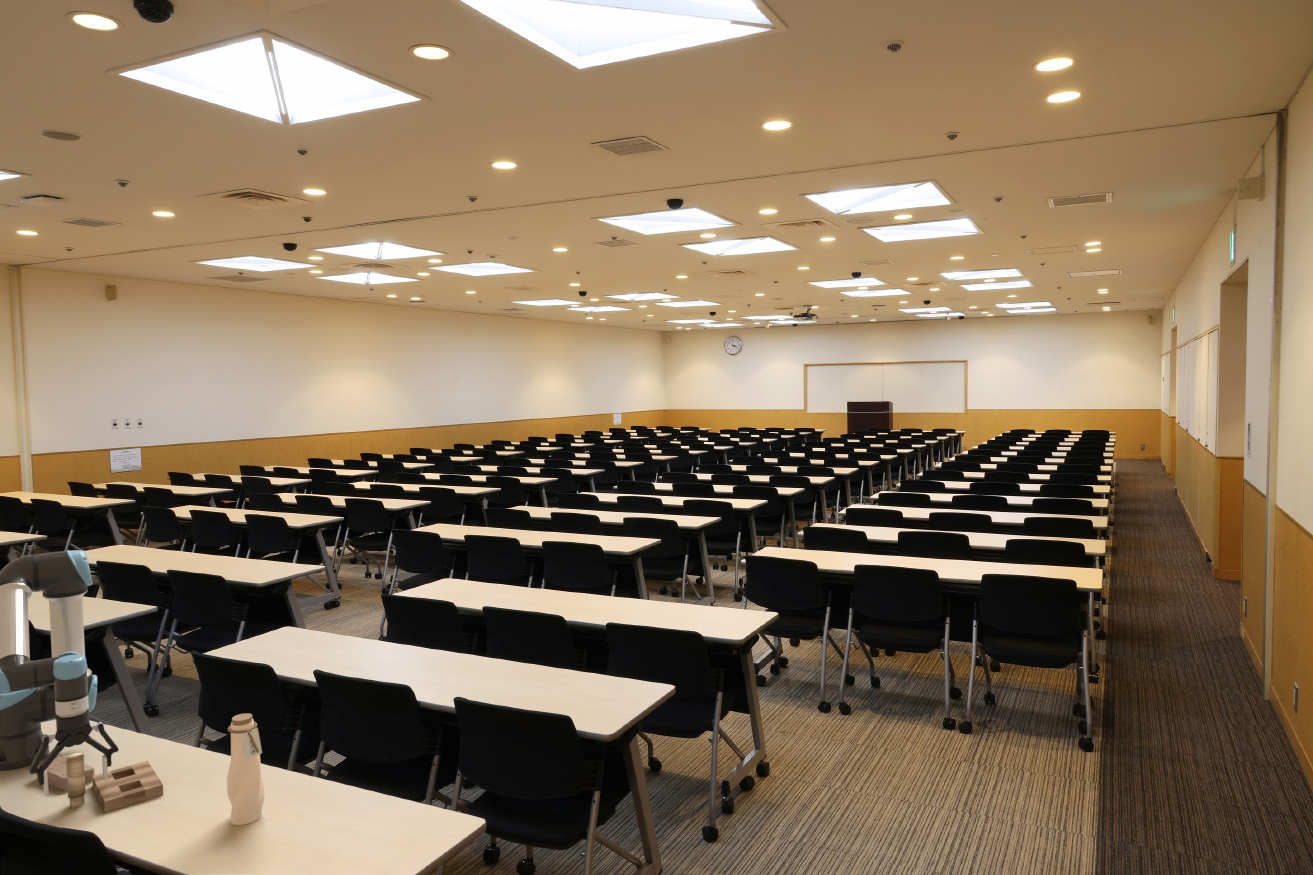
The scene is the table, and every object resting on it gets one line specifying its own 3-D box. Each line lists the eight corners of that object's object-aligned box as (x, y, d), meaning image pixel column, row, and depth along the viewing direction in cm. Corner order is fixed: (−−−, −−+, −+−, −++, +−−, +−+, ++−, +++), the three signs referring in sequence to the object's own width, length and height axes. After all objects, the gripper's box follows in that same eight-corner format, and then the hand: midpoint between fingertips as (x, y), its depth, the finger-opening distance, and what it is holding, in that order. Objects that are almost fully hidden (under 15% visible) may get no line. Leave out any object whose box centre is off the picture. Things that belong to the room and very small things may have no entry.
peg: (67, 804, 229) (64, 755, 228) (85, 799, 232) (82, 751, 231) (69, 810, 226) (66, 760, 225) (87, 804, 229) (85, 756, 228)
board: (92, 785, 240) (92, 775, 239) (148, 770, 249) (147, 760, 249) (105, 811, 225) (104, 801, 225) (163, 794, 234) (162, 784, 234)
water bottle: (276, 812, 224) (272, 713, 222) (249, 829, 216) (246, 726, 214) (246, 806, 228) (243, 708, 226) (220, 822, 219) (215, 721, 217)
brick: (97, 780, 243) (96, 765, 243) (66, 793, 236) (65, 777, 236) (66, 768, 251) (65, 753, 251) (35, 780, 243) (34, 765, 243)
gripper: (17, 729, 216) (21, 807, 217) (127, 703, 233) (131, 776, 234) (14, 720, 221) (18, 796, 223) (122, 696, 238) (126, 767, 240)
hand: (76, 786), depth 229 cm, fingers open, 13 cm apart
